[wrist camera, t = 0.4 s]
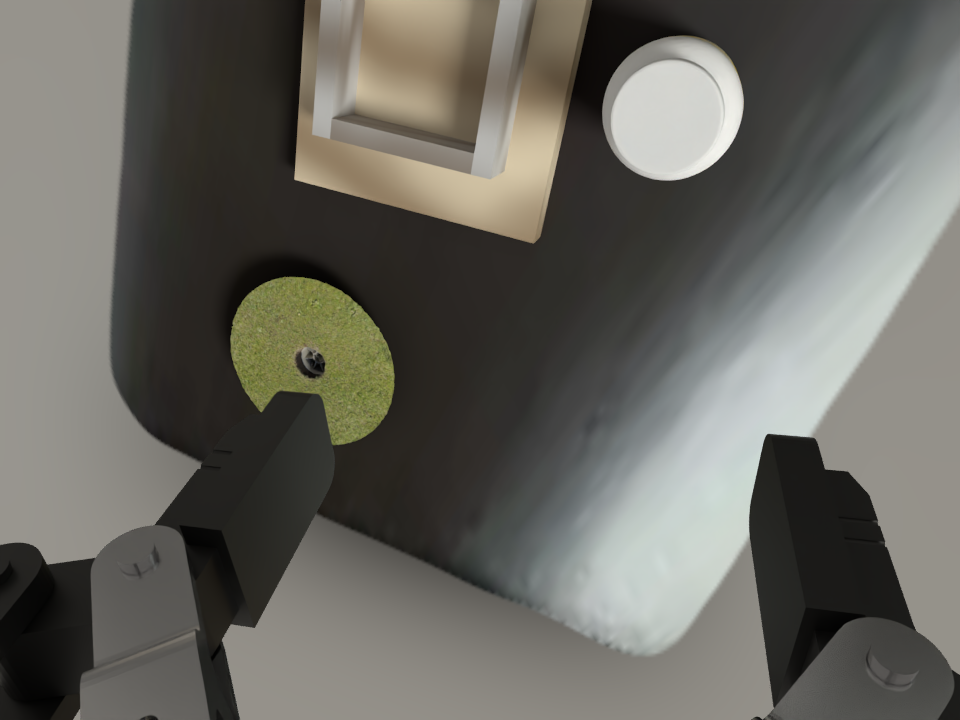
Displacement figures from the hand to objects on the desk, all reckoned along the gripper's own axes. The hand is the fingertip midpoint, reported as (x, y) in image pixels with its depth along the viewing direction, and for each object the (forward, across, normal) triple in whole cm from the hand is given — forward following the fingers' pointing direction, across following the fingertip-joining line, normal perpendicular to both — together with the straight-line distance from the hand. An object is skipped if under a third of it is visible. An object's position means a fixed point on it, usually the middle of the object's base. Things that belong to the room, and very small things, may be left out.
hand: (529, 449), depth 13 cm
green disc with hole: (+26, +17, +16) cm, 35 cm away
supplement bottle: (+27, -3, 0) cm, 27 cm away
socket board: (+28, +8, -2) cm, 29 cm away
